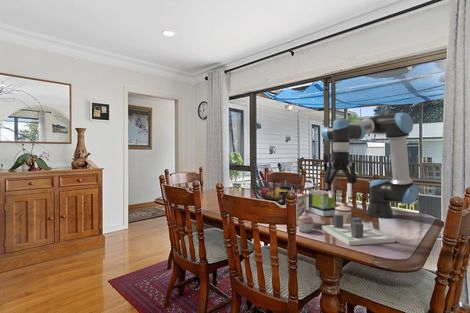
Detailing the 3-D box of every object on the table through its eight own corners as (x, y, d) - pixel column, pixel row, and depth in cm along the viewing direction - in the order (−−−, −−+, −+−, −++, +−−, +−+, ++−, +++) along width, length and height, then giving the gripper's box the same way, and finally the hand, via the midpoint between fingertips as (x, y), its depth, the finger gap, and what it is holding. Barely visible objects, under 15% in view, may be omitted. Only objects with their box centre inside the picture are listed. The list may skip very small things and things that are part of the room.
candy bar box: (296, 226, 150) (296, 197, 149) (288, 224, 153) (288, 195, 153) (306, 222, 158) (307, 194, 157) (299, 220, 161) (299, 193, 161)
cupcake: (309, 235, 135) (309, 215, 134) (292, 231, 141) (292, 212, 141) (317, 230, 142) (317, 212, 141) (301, 227, 148) (301, 209, 148)
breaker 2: (358, 234, 128) (359, 222, 127) (363, 236, 125) (363, 224, 125) (351, 235, 127) (351, 222, 127) (355, 237, 124) (355, 224, 124)
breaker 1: (339, 225, 143) (340, 214, 143) (343, 226, 140) (343, 215, 140) (332, 225, 143) (333, 214, 142) (336, 227, 140) (336, 215, 139)
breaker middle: (357, 229, 136) (357, 217, 136) (361, 231, 134) (361, 219, 133) (350, 229, 136) (350, 217, 136) (354, 231, 133) (354, 219, 133)
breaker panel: (361, 226, 149) (361, 223, 149) (395, 242, 125) (395, 237, 125) (321, 229, 144) (321, 225, 144) (348, 245, 121) (348, 240, 121)
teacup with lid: (349, 227, 148) (350, 206, 148) (332, 224, 153) (333, 204, 153) (354, 222, 158) (354, 202, 157) (338, 219, 163) (338, 200, 163)
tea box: (335, 215, 174) (335, 192, 173) (322, 217, 170) (323, 193, 169) (319, 210, 188) (319, 189, 187) (307, 211, 184) (308, 190, 183)
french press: (279, 207, 196) (280, 176, 195) (292, 208, 193) (293, 176, 192) (276, 211, 185) (276, 177, 184) (290, 212, 182) (290, 178, 181)
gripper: (356, 151, 137) (355, 194, 138) (316, 151, 133) (315, 196, 134) (366, 151, 130) (365, 197, 131) (324, 151, 126) (323, 199, 127)
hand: (340, 196), depth 132 cm, fingers open, 9 cm apart
